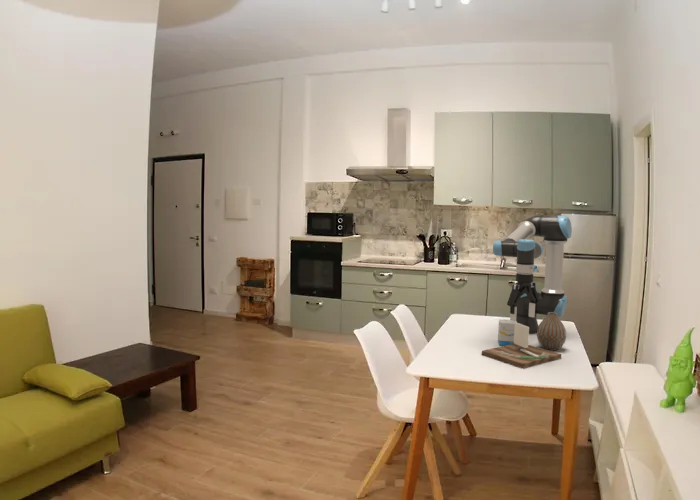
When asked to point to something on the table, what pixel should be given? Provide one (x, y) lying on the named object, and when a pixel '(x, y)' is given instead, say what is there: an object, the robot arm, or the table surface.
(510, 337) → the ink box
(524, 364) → the board
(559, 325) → the vase
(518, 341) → the cream dial pointer
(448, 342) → the table surface
